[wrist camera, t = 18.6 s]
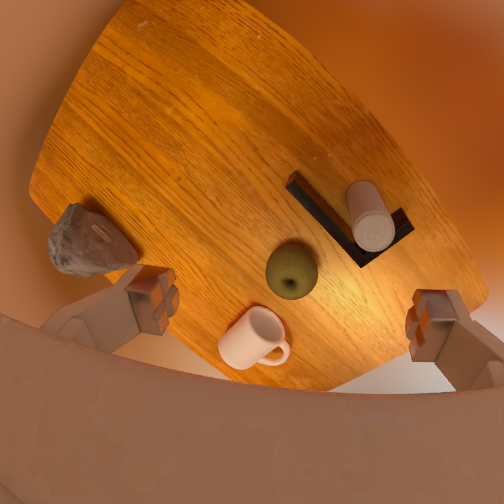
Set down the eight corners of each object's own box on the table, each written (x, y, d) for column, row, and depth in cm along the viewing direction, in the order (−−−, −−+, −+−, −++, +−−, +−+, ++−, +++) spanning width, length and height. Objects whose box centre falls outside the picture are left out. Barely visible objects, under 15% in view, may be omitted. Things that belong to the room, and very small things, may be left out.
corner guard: (339, 132, 38) (341, 138, 34) (406, 214, 41) (414, 229, 37) (288, 176, 42) (285, 187, 38) (357, 251, 46) (360, 268, 42)
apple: (281, 284, 52) (275, 311, 46) (261, 244, 49) (252, 268, 43) (324, 271, 49) (324, 299, 43) (307, 228, 46) (304, 252, 40)
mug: (224, 326, 59) (212, 356, 53) (252, 297, 54) (242, 328, 48) (272, 356, 61) (266, 387, 54) (304, 331, 56) (301, 364, 49)
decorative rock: (77, 206, 52) (24, 242, 40) (91, 184, 49) (34, 219, 37) (131, 267, 57) (88, 316, 44) (149, 250, 54) (104, 300, 41)
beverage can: (384, 189, 40) (404, 226, 30) (367, 216, 43) (380, 259, 33) (355, 173, 40) (368, 204, 30) (339, 201, 43) (344, 240, 32)
